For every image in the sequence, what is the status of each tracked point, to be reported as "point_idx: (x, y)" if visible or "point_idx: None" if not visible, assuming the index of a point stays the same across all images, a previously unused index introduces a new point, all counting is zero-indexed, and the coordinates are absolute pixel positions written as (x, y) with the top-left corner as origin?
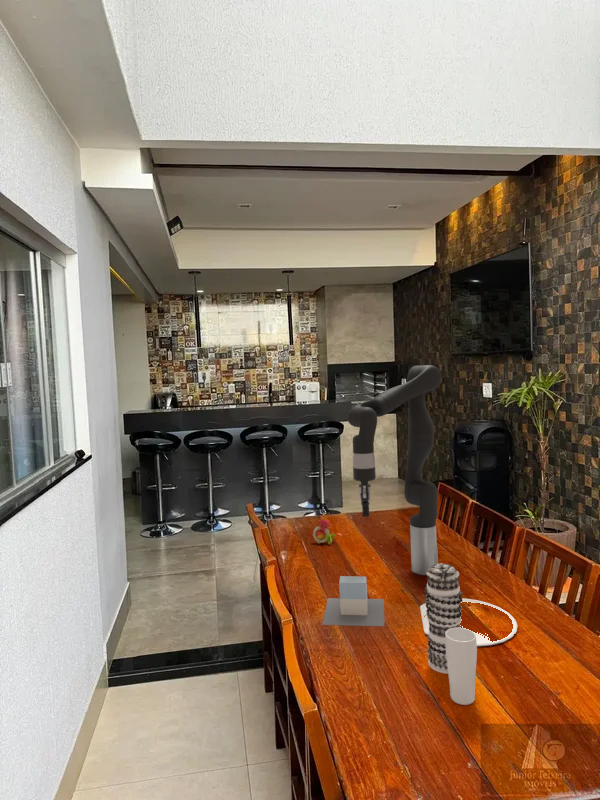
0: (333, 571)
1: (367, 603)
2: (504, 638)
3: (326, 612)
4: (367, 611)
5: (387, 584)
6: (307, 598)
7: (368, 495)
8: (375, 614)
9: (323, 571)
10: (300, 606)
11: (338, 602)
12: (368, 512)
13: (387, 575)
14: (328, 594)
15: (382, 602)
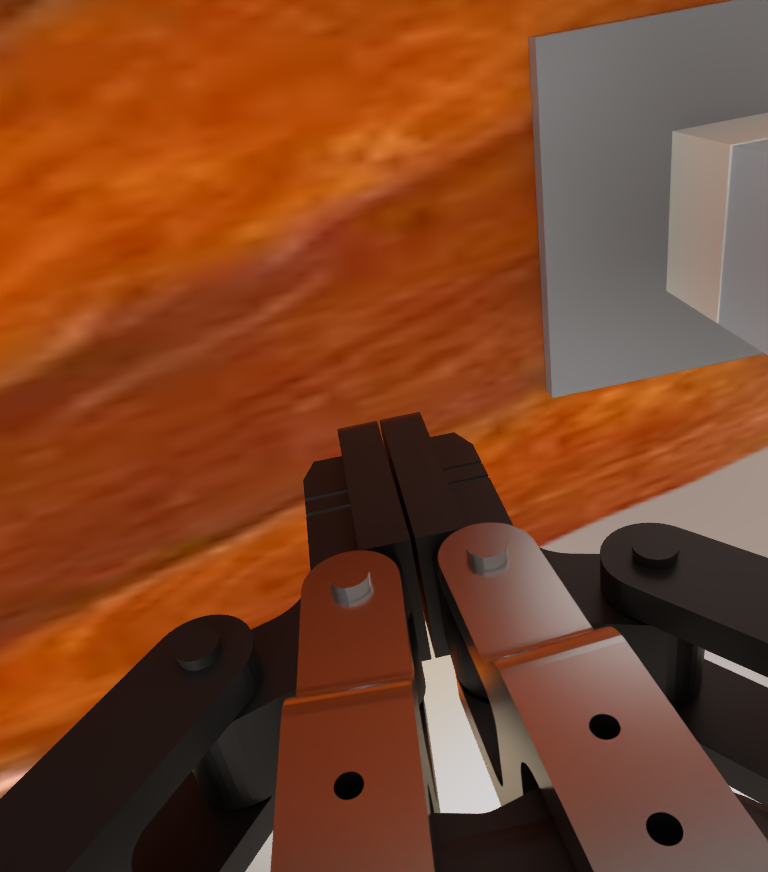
0: (107, 486)
1: (693, 133)
2: None
3: (726, 353)
4: (732, 120)
5: (209, 60)
6: (523, 495)
7: (426, 770)
8: (764, 58)
9: (131, 538)
10: (616, 494)
11: (604, 326)
12: (433, 452)
13: (23, 91)
14: (458, 413)
15: (590, 38)
